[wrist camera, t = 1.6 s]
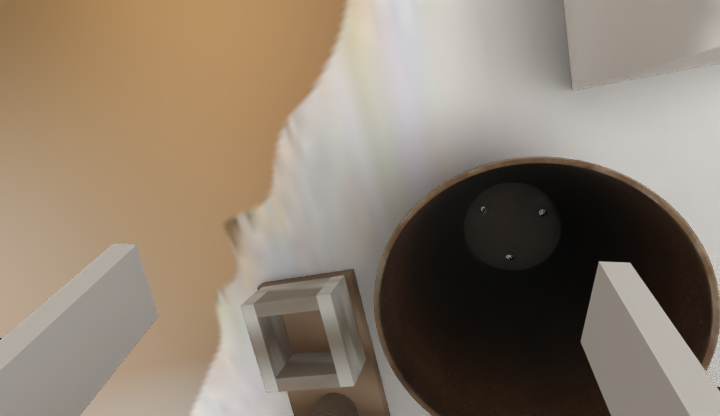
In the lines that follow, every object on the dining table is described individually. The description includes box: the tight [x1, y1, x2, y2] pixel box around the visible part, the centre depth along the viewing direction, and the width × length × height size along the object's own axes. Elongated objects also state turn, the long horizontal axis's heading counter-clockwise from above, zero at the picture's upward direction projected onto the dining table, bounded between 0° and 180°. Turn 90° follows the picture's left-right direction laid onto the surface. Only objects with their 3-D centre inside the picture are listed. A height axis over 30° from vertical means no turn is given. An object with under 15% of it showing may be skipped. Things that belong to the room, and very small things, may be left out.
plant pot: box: [374, 157, 720, 416], centre depth 29 cm, size 15×15×16 cm
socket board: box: [241, 269, 390, 416], centre depth 40 cm, size 15×9×5 cm, turn 14°
